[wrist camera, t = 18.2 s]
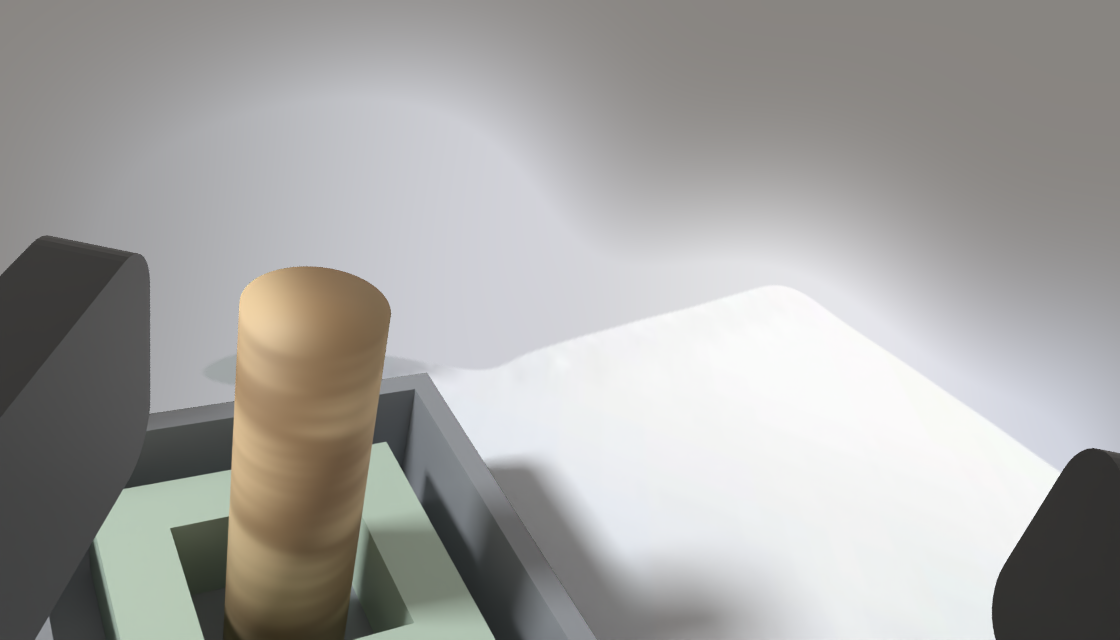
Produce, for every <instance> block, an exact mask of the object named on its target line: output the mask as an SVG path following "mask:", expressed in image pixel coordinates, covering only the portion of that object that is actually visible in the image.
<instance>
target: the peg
mask: <svg viewBox="0 0 1120 640" xmlns="http://www.w3.org/2000/svg"><path fill="white" fill-rule="evenodd" d="M390 317H391V310H390V306H389V303H388V301H387V299H386V298H385V296H384V295H383V294H382V293H381V292H380V291H379V290H378V289H377V288H376V287H374V286H373V285H372V284H370V283H368V282H367V281H365V280H363V279H361V278H359V277H357V276H355V275H352V274H349V273H346V272H343V271H339V270H334V269H329V268H323V267H291V268H284V269H279V270H276V271H272V272H269V273H266V274H264V275H262V276H260V277H258V278H256V279H255V280H253V281H252V282H251V283H250V284H249V285H248V286H247V287H246V288H245V289H244V291H243V292H242V295H241V297H240V304H239V324H238V344H237V364H236V385H235V405H234V425H233V446H232V466H231V486H230V507H229V527H228V547H227V568H226V588H225V608H224V629H223V640H344V637H345V630H346V623H347V616H348V609H349V602H350V595H351V588H352V581H353V574H354V567H355V560H356V553H357V546H358V539H359V532H360V525H361V519H362V512H363V505H364V498H365V491H366V484H367V477H368V470H369V463H370V456H371V449H372V442H373V435H374V428H375V421H376V414H377V407H378V400H379V393H380V386H381V380H382V373H383V366H384V359H385V352H386V344H387V338H388V331H389V323H390Z"/></svg>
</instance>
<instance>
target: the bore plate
mask: <svg viewBox="0 0 1120 640" xmlns="http://www.w3.org/2000/svg"><path fill="white" fill-rule="evenodd" d="M230 486H231V470H227V471H221V472H216V473H210V474H205V475H199V476H193V477H188V478H182V479H177V480H171V481H166V482H160V483H155V484H149V485H144V486H138V487H132V488H127V489H123V490H122V492H121V494H120V496H119V497H118V499H117V501H116V502H115V504H114V506H113V507H112V509H111V511H110V513H109V514H108V516H107V518H106V519H105V521H104V523H103V525H102V526H101V528H100V530H99V531H98V533H97V535H96V536H95V538H94V540H93V542H92V543H91V545H90V547H89V553H90V570H91V574H92V579H93V583H94V588H95V592H96V596H97V601H98V605H99V610H100V614H101V619H102V623H103V628H104V632H105V637H106V640H204V637H203V634H202V631H201V628H200V624H199V621H198V618H197V615H196V611H195V608H194V605H193V602H192V598H191V595H195V594H199V593H204V592H208V591H212V590H216V589H221V588H225V587H226V568H227V547H228V527H229V507H230ZM352 586H353V588H354V590H355V592H356V595H357V597H358V599H359V601H360V603H361V606H362V608H363V610H364V612H365V614H366V617H367V619H368V621H369V623H370V626H371V628H372V630H373V632H374V634H372V635H369V636H365V637H361V638H358V639H354V640H495V638H494V636H493V634H492V633H491V631H490V629H489V627H488V625H487V623H486V622H485V620H484V618H483V616H482V614H481V613H480V611H479V609H478V607H477V605H476V604H475V602H474V600H473V598H472V596H471V594H470V593H469V591H468V589H467V587H466V585H465V584H464V582H463V580H462V578H461V576H460V574H459V573H458V571H457V569H456V567H455V565H454V564H453V562H452V560H451V558H450V556H449V555H448V553H447V551H446V549H445V547H444V545H443V544H442V542H441V540H440V538H439V536H438V535H437V533H436V531H435V529H434V527H433V526H432V524H431V522H430V520H429V518H428V516H427V515H426V513H425V511H424V509H423V507H422V506H421V504H420V502H419V500H418V498H417V497H416V495H415V493H414V491H413V489H412V487H411V486H410V484H409V482H408V480H407V478H406V477H405V475H404V473H403V471H402V469H401V467H400V466H399V464H398V462H397V460H396V458H395V457H394V455H393V453H392V451H391V449H390V448H389V446H388V444H387V442H382V443H377V444H372V449H371V456H370V463H369V470H368V477H367V484H366V491H365V498H364V505H363V512H362V519H361V525H360V532H359V539H358V546H357V553H356V560H355V567H354V574H353V581H352Z"/></svg>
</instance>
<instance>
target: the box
mask: <svg viewBox="0 0 1120 640" xmlns="http://www.w3.org/2000/svg"><path fill="white" fill-rule="evenodd" d="M234 405H235V401H233V402H226V403H220V404H213V405H207V406H199V407H193V408H186V409H179V410H173V411H166V412H159V413H152V414H149V419H148V425H147V430H146V435H145V439H144V443H143V446H142V449H141V452H140V456H139V458H138V461H137V463H136V466H135V468H134V470H133V473H132V475H131V476H130V478H129V480H128V482H127V484H126V485H125V487H124V489H127V488H132V487H138V486H144V485H149V484H155V483H160V482H166V481H171V480H177V479H182V478H188V477H193V476H199V475H205V474H210V473H216V472H221V471H227V470H231V466H232V446H233V425H234ZM382 442H387V444H388V446H389V448H390V449H391V451H392V453H393V455H394V457H395V458H396V460H397V462H398V464H399V466H400V467H401V469H402V471H403V473H404V475H405V477H406V478H407V480H408V482H409V484H410V486H411V487H412V489H413V491H414V493H415V495H416V497H417V498H418V500H419V502H420V504H421V506H422V507H423V509H424V511H425V513H426V515H427V516H428V518H429V520H430V522H431V524H432V526H433V527H434V529H435V531H436V533H437V535H438V536H439V538H440V540H441V542H442V544H443V545H444V547H445V549H446V551H447V553H448V555H449V556H450V558H451V560H452V562H453V564H454V565H455V567H456V569H457V571H458V573H459V574H460V576H461V578H462V580H463V582H464V584H465V585H466V587H467V589H468V591H469V593H470V594H471V596H472V598H473V600H474V602H475V604H476V605H477V607H478V609H479V611H480V613H481V614H482V616H483V618H484V620H485V622H486V623H487V625H488V627H489V629H490V631H491V633H492V634H493V636H494V638H495V640H597V639H596V637H595V636H594V634H593V633H592V631H591V630H590V628H589V627H588V625H587V623H586V622H585V620H584V619H583V617H582V616H581V614H580V612H579V611H578V609H577V608H576V606H575V605H574V603H573V601H572V600H571V598H570V597H569V595H568V594H567V592H566V590H565V589H564V587H563V586H562V584H561V583H560V581H559V579H558V578H557V576H556V575H555V573H554V572H553V570H552V568H551V567H550V565H549V564H548V562H547V561H546V559H545V557H544V556H543V554H542V553H541V551H540V550H539V548H538V546H537V545H536V543H535V542H534V540H533V539H532V537H531V535H530V534H529V532H528V531H527V529H526V528H525V526H524V524H523V523H522V521H521V520H520V518H519V517H518V515H517V513H516V512H515V510H514V509H513V507H512V506H511V504H510V502H509V501H508V499H507V498H506V496H505V495H504V493H503V491H502V490H501V488H500V487H499V485H498V484H497V482H496V480H495V479H494V477H493V476H492V474H491V473H490V471H489V469H488V468H487V466H486V465H485V463H484V462H483V460H482V458H481V457H480V455H479V454H478V452H477V451H476V449H475V447H474V446H473V444H472V443H471V441H470V440H469V438H468V436H467V435H466V433H465V432H464V430H463V429H462V427H461V425H460V424H459V422H458V421H457V419H456V418H455V416H454V414H453V413H452V411H451V410H450V408H449V407H448V405H447V403H446V402H445V400H444V399H443V397H442V396H441V394H440V392H439V391H438V389H437V388H436V386H435V385H434V383H433V381H432V380H431V378H430V377H429V375H428V374H427V373H422V374H415V375H408V376H401V377H395V378H388V379H382V380H381V386H380V393H379V400H378V407H377V414H376V421H375V428H374V435H373V442H372V444H377V443H382ZM225 588H226V587H225ZM225 588H221V589H216V590H212V591H208V592H204V593H199V594H195V595H191V598H192V602H193V605H194V608H195V611H196V615H197V618H198V621H199V624H200V628H201V631H202V634H203V637H204V640H223V629H224V608H225ZM372 634H374V632H373V630H372V628H371V626H370V623H369V621H368V619H367V617H366V614H365V612H364V610H363V608H362V606H361V603H360V601H359V599H358V597H357V595H356V592H355V590H354V588H353V586H352V588H351V595H350V602H349V609H348V616H347V623H346V630H345V637H344V640H354V639H358V638H361V637H365V636H369V635H372ZM35 640H106V637H105V632H104V628H103V623H102V619H101V614H100V610H99V605H98V601H97V596H96V592H95V588H94V583H93V579H92V574H91V570H90V553H89V548H88V550H87V552H86V554H85V555H84V557H83V559H82V560H81V562H80V564H79V566H78V567H77V569H76V571H75V572H74V574H73V576H72V577H71V579H70V581H69V583H68V584H67V586H66V588H65V589H64V591H63V593H62V595H61V596H60V598H59V600H58V601H57V603H56V605H55V606H54V608H53V610H52V612H51V613H50V615H49V617H48V618H47V620H46V622H45V624H44V625H43V627H42V629H41V630H40V632H39V634H38V635H37V637H36V639H35Z"/></svg>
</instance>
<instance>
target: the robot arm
mask: <svg viewBox="0 0 1120 640" xmlns="http://www.w3.org/2000/svg"><path fill="white" fill-rule="evenodd" d="M149 411H150V277H149V270H148V265H147V262H146V260H145V258H144V257H143V256H142V255H141V254H137V253H132V252H127V251H122V250H117V249H112V248H107V247H102V246H98V245H92V244H88V243H83V242H78V241H73V240H68V239H63V238H58V237H53V236H42V237H40V238H38V239H37V240H36V241H34V242H33V243H32V244H31V245H30V246H29V247H28V248H27V249H26V250H25V251H24V252H23V253H22V254H21V255H20V256H19V257H18V258H17V260H15V261H14V262H13V263H12V264H11V265H10V266H9V268H7V270H6V271H5V272H4V273H3V274H2V275H1V276H0V640H35V639H36V637H37V635H38V634H39V632H40V630H41V629H42V627H43V625H44V624H45V622H46V620H47V618H48V617H49V615H50V613H51V612H52V610H53V608H54V606H55V605H56V603H57V601H58V600H59V598H60V596H61V595H62V593H63V591H64V589H65V588H66V586H67V584H68V583H69V581H70V579H71V577H72V576H73V574H74V572H75V571H76V569H77V567H78V566H79V564H80V562H81V560H82V559H83V557H84V555H85V554H86V552H87V550H88V548H89V547H90V545H91V543H92V542H93V540H94V538H95V536H96V535H97V533H98V531H99V530H100V528H101V526H102V525H103V523H104V521H105V519H106V518H107V516H108V514H109V513H110V511H111V509H112V507H113V506H114V504H115V502H116V501H117V499H118V497H119V496H120V494H121V492H122V490H123V489H124V487H125V485H126V484H127V482H128V480H129V478H130V476H131V475H132V473H133V470H134V468H135V466H136V463H137V461H138V458H139V456H140V452H141V449H142V446H143V443H144V439H145V435H146V430H147V425H148V419H149ZM992 622H993V629H994V635H995V638H996V640H1120V453H1115V452H1110V451H1105V450H1100V449H1094V448H1092V449H1086V450H1084V451H1081V452H1080V453H1078V454H1077V455H1075V456H1074V457H1073V458H1072V459H1071V460H1070V461H1069V463H1068V464H1067V465H1066V467H1065V468H1064V469H1063V471H1062V473H1061V474H1060V476H1059V477H1058V479H1057V481H1056V482H1055V484H1054V485H1053V487H1052V489H1051V490H1050V492H1049V494H1048V495H1047V497H1046V498H1045V500H1044V502H1043V503H1042V505H1041V506H1040V508H1039V510H1038V511H1037V513H1036V514H1035V516H1034V518H1033V519H1032V521H1031V522H1030V524H1029V526H1028V527H1027V529H1026V531H1025V532H1024V534H1023V535H1022V537H1021V539H1020V540H1019V542H1018V543H1017V545H1016V547H1015V548H1014V550H1013V551H1012V553H1011V555H1010V556H1009V558H1008V559H1007V561H1006V563H1005V564H1004V566H1003V568H1002V570H1001V572H1000V574H999V577H998V579H997V582H996V586H995V590H994V595H993V603H992Z"/></svg>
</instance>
